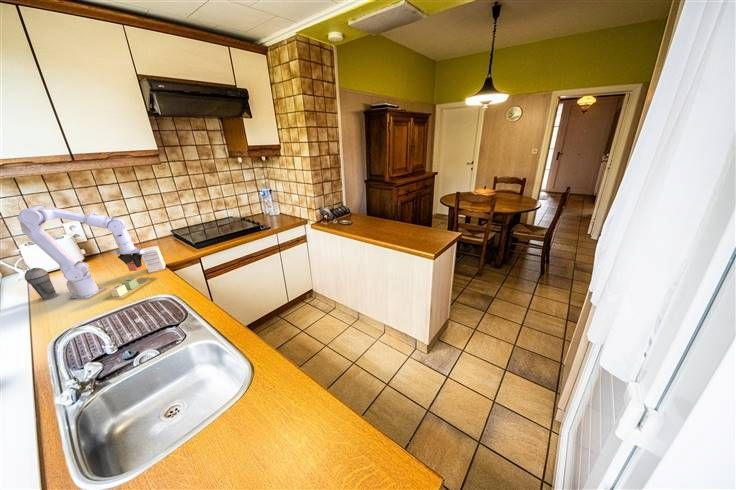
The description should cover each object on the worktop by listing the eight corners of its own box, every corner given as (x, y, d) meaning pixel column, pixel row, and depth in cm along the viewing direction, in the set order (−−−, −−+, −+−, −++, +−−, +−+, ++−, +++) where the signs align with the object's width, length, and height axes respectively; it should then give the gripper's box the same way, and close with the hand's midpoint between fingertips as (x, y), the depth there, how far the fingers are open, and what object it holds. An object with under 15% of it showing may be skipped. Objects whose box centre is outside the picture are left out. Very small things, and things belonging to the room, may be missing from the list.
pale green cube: (124, 289, 130) (120, 282, 128) (131, 285, 133) (128, 278, 132) (131, 289, 129) (128, 282, 128) (138, 285, 133) (135, 278, 131)
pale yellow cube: (112, 296, 124) (108, 289, 123) (120, 291, 128) (117, 284, 126) (120, 296, 124) (116, 289, 122) (128, 291, 127) (124, 284, 126)
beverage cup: (63, 294, 129) (41, 257, 122) (42, 302, 123) (17, 264, 116) (57, 291, 132) (35, 255, 125) (36, 299, 126) (11, 262, 119)
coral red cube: (129, 271, 134) (126, 263, 132) (136, 267, 138) (133, 260, 136) (136, 270, 133) (133, 263, 132) (143, 267, 137) (140, 260, 136)
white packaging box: (150, 268, 152) (142, 248, 147) (166, 264, 155) (158, 245, 150) (148, 273, 146) (139, 252, 141) (164, 269, 149) (156, 249, 144)
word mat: (106, 298, 124) (105, 297, 124) (139, 279, 140) (139, 278, 140) (123, 298, 123) (122, 297, 123) (155, 278, 139) (154, 278, 139)
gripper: (144, 238, 133) (154, 262, 138) (118, 239, 134) (129, 263, 139) (132, 244, 126) (143, 269, 131) (105, 244, 128) (117, 269, 133)
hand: (135, 266), depth 135 cm, fingers closed on coral red cube, 4 cm apart
